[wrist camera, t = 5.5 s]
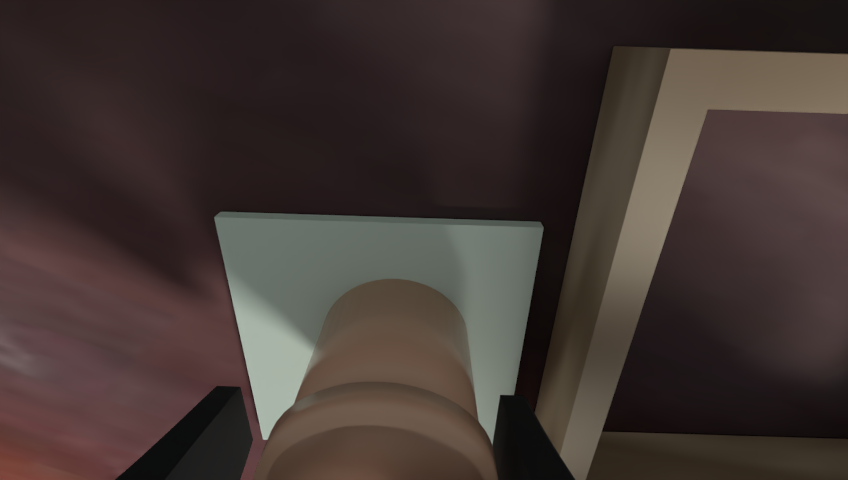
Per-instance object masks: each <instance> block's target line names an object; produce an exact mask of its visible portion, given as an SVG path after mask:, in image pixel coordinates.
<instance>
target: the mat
mask: <svg viewBox="0 0 848 480" xmlns="http://www.w3.org/2000/svg"><path fill="white" fill-rule="evenodd" d="M214 220H215V224H216V229H217V233H218V238H219V242H220V247H221V251H222V256H223V260H224V265H225V269H226V274H227V279H228V283H229V288H230V292H231V297H232V301H233V306H234V310H235V315H236V319H237V324H238V328H239V333H240V337H241V342H242V347H243V351H244V356H245V360H246V365H247V369H248V374H249V378H250V383H251V387H252V392H253V396H254V401H255V405H256V410H257V415H258V419H259V424H260V428H261V433H262V437H263V440H268V437H269V435H270V432H271V430H272V428H273V427H274V425H275V423H276V421H277V420H278V419H279V418H280V417H281V415H282V414H283V413H284V412H285V411H286V410H287V409H289V408H290V407H291V406H292V405H293V404H294V402H295V399H296V396H297V394H298V391H299V388H300V386H301V383H302V380H303V378H304V375H305V372H306V369H307V367H308V364H309V361H310V359H311V356H312V353H313V351H314V348H315V345H316V343H317V340H318V337H319V334H320V332H321V329H322V326H323V324H324V321H325V318H326V316H327V313H328V312H329V310H330V308H331V307H332V305H333V304H334V303H335V302H336V301H337V300H338V299H339V298H340V297H341V296H342V295H343V294H345V293H346V292H347V291H349V290H351V289H353V288H354V287H356V286H359V285H361V284H364V283H367V282H371V281H375V280H382V279H403V280H410V281H414V282H418V283H421V284H424V285H427V286H429V287H431V288H433V289H435V290H437V291H438V292H440V293H441V294H443V295H444V296H446V297H447V298H448V299H449V300H450V301H451V302H452V303H453V304H454V305H455V306H456V307H457V309H458V310H459V312H460V313H461V315H462V317H463V319H464V321H465V324H466V328H467V334H468V342H469V350H470V358H471V366H472V373H473V381H474V389H475V397H476V405H477V413H478V421H479V423H480V424H481V426H482V427H483V428H484V430H485V431H486V433H487V435H488V436H489V438H490V440H491V443H492V444H493V437H494V431H495V425H496V418H497V412H498V405H499V399H500V395H514V392H515V387H516V381H517V376H518V370H519V364H520V359H521V353H522V347H523V342H524V336H525V330H526V325H527V319H528V314H529V308H530V302H531V297H532V291H533V285H534V280H535V274H536V269H537V263H538V257H539V252H540V246H541V240H542V235H543V229H544V227H543V226H542V224H541V222H533V221H501V220H470V219H438V218H406V217H375V216H343V215H311V214H280V213H248V212H220V213H219V214H217V215H216V216H215V217H214Z"/></svg>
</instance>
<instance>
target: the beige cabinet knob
mask: <svg viewBox="0 0 848 480" xmlns="http://www.w3.org/2000/svg"><path fill="white" fill-rule="evenodd" d="M253 480H498V475H497V468H496V462H495V455H494V450H493V446H492V443H491V440H490V438H489V436H488V435H487V433H486V431H485V430H484V428H483V427H482V426H481V424H480V423H479V421H478V413H477V405H476V397H475V389H474V381H473V373H472V366H471V358H470V350H469V342H468V334H467V328H466V324H465V321H464V319H463V317H462V315H461V313H460V312H459V310H458V309H457V307H456V306H455V305H454V304H453V303H452V302H451V301H450V300H449V299H448V298H447V297H446V296H444V295H443V294H441V293H440V292H438V291H437V290H435V289H433V288H431V287H429V286H427V285H424V284H421V283H418V282H414V281H410V280H403V279H382V280H375V281H371V282H367V283H364V284H361V285H359V286H356V287H354V288H353V289H351V290H349V291H347V292H346V293H345V294H343V295H342V296H341V297H340V298H339V299H338V300H337V301H336V302H335V303H334V304H333V305H332V307H331V308H330V310H329V312H328V313H327V316H326V318H325V321H324V324H323V326H322V329H321V332H320V334H319V337H318V340H317V343H316V345H315V348H314V351H313V353H312V356H311V359H310V361H309V364H308V367H307V369H306V372H305V375H304V378H303V380H302V383H301V386H300V388H299V391H298V394H297V396H296V399H295V402H294V404H293V405H292V406H291V407H290V408H289V409H287V410H286V411H285V412H284V413H283V414H282V415H281V417H280V418H279V419H278V420H277V421H276V423H275V425H274V427H273V428H272V430H271V432H270V435H269V437H268V440H267V442H266V445H265V447H264V450H263V452H262V455H261V457H260V460H259V462H258V465H257V467H256V471H255V474H254V478H253Z"/></svg>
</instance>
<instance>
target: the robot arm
mask: <svg viewBox="0 0 848 480" xmlns="http://www.w3.org/2000/svg"><path fill="white" fill-rule="evenodd" d="M252 441H253V438H252V434H251V430H250V426H249V422H248V417H247V413H246V409H245V405H244V400H243V396H242V392H241V388H240V387H228V386H217V387H216V388H214V389H213V390H212V391H211V392H210V393H209V394H208V395H207V396H206V397H205V398H204V399H202V400H201V401H200V402H199V403H198V404H197V405H196V406H195V407H194V408H193V409H192V410H191V411H190V412H189V413H188V414H187V415H186V416H185V417H184V418H183V419H181V420H180V421H179V422H178V423H177V424H176V425H175V426H174V427H173V428H172V429H171V430H170V431H169V432H168V433H167V434H166V435H164V436H163V437H162V438H161V439H160V440H159V441H158V442H157V443H156V444H155V445H154V446H152V447H151V448H150V449H149V450H148V451H147V452H146V453H145V454H144V455H143V456H142V457H140V458H139V459H138V460H137V461H136V462H135V463H134V464H133V465H132V466H130V467H129V468H128V469H127V470H126V471H125V472H124V473H122V474H121V475H120V476H119V477H118V478H117V479H115V480H240V478H241V475H242V472H243V470H244V467H245V464H246V460H247V457H248V454H249V451H250V448H251V444H252ZM492 446H493V450H494V455H495V462H496V468H497V475H498V480H575V478H574V477H573V475H572V474H571V472H570V471H569V469H568V467H567V466H566V464H565V463H564V461H563V460H562V458H561V457H560V455H559V454H558V452H557V450H556V449H555V447H554V446H553V444H552V442H551V441H550V439H549V437H548V436H547V434H546V432H545V431H544V429H543V427H542V425H541V424H540V422H539V420H538V418H537V417H536V415H535V413H534V411H533V409H532V408H531V406H530V404H529V402H528V400H527V399H526V398H525V397H524V396H521V395H500V399H499V405H498V412H497V418H496V425H495V431H494V437H493V444H492Z"/></svg>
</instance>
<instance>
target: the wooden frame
mask: <svg viewBox="0 0 848 480" xmlns="http://www.w3.org/2000/svg"><path fill="white" fill-rule="evenodd" d="M708 109H718V110H749V111H780V112H811V113H842V114H848V54H844V53H813V52H782V51H752V50H721V49H690V48H659V47H628V46H614V47H613V51H612V56H611V61H610V65H609V70H608V75H607V79H606V84H605V89H604V93H603V98H602V102H601V107H600V112H599V116H598V121H597V126H596V130H595V135H594V140H593V144H592V149H591V154H590V158H589V163H588V168H587V172H586V177H585V182H584V186H583V191H582V195H581V200H580V205H579V209H578V214H577V219H576V223H575V228H574V233H573V237H572V242H571V247H570V251H569V256H568V261H567V265H566V270H565V275H564V279H563V284H562V288H561V293H560V298H559V302H558V307H557V312H556V316H555V321H554V326H553V330H552V335H551V340H550V344H549V349H548V354H547V358H546V363H545V368H544V372H543V377H542V381H541V386H540V391H539V395H538V400H537V405H536V409H535V415H536V417H537V418H538V420H539V422H540V424H541V425H542V427H543V429H544V431H545V432H546V434H547V436H548V437H549V439H550V441H551V442H552V444H553V446H554V447H555V449H556V450H557V452H558V454H559V455H560V457H561V458H562V460H563V461H564V463H565V464H566V466H567V467H568V469H569V471H570V472H571V474H572V475H573V477H574V478H575V480H848V439H830V438H798V437H765V436H732V435H700V434H667V433H634V432H602V429H603V426H604V423H605V420H606V417H607V414H608V411H609V408H610V405H611V402H612V399H613V396H614V393H615V390H616V387H617V383H618V380H619V377H620V374H621V371H622V368H623V365H624V362H625V359H626V356H627V353H628V350H629V347H630V344H631V341H632V338H633V335H634V332H635V329H636V326H637V323H638V320H639V317H640V314H641V311H642V308H643V305H644V302H645V299H646V295H647V292H648V289H649V286H650V283H651V280H652V277H653V274H654V271H655V268H656V265H657V262H658V259H659V256H660V253H661V250H662V247H663V244H664V241H665V238H666V235H667V232H668V229H669V226H670V223H671V220H672V217H673V214H674V211H675V208H676V204H677V201H678V198H679V195H680V192H681V189H682V186H683V183H684V180H685V177H686V174H687V171H688V168H689V165H690V162H691V159H692V156H693V153H694V150H695V147H696V144H697V141H698V138H699V135H700V132H701V129H702V126H703V123H704V120H705V117H706V113H707V110H708Z"/></svg>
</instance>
